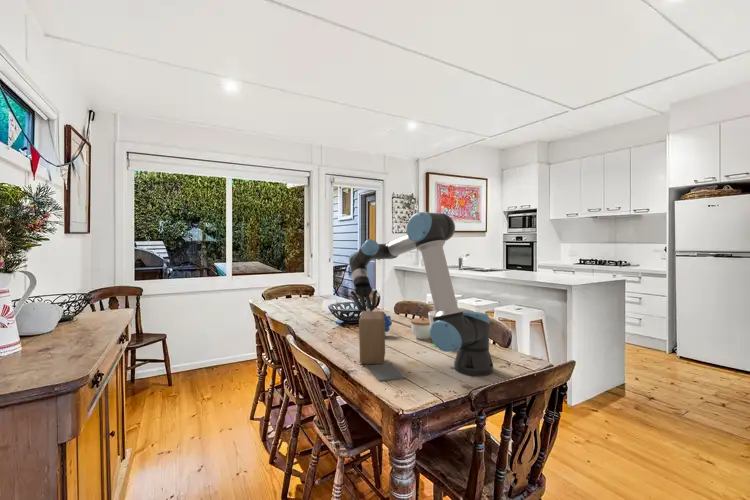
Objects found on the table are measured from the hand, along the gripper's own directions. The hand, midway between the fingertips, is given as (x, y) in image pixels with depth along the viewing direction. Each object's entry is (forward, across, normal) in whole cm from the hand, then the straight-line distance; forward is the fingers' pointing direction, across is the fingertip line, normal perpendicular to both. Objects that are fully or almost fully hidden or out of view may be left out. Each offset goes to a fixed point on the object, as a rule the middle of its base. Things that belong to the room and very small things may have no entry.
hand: (370, 322), depth 161 cm
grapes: (-14, -16, -37) cm, 42 cm away
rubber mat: (+24, -1, +2) cm, 24 cm away
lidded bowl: (-7, -36, -30) cm, 47 cm away
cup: (+4, -39, -18) cm, 43 cm away
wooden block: (+13, 0, -8) cm, 15 cm away
